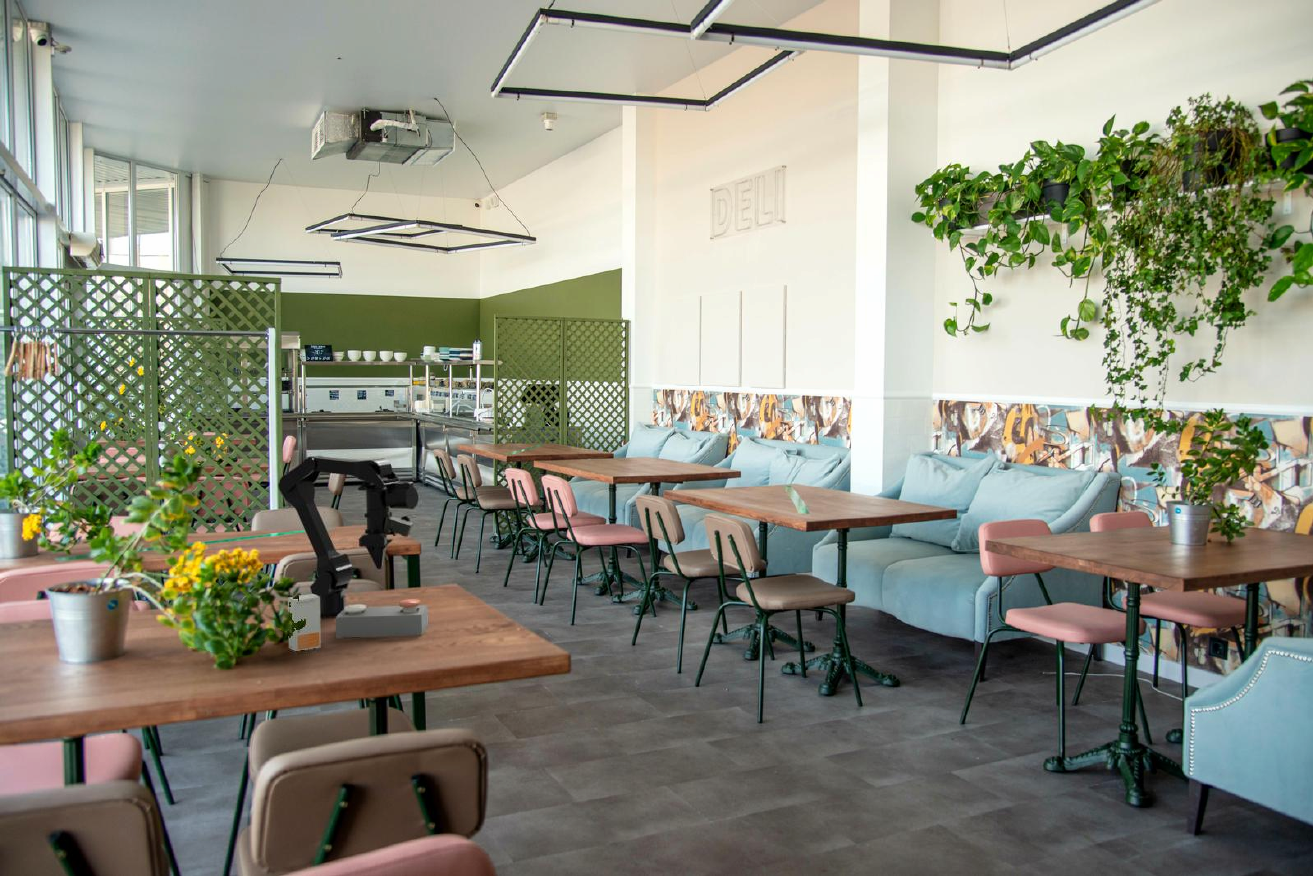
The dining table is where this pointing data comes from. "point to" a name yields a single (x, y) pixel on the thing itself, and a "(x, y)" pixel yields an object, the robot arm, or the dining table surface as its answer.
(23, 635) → the dining table surface
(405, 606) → the red plunger
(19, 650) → the dining table surface
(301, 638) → the skincare box
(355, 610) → the white plunger
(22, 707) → the dining table surface
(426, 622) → the block
